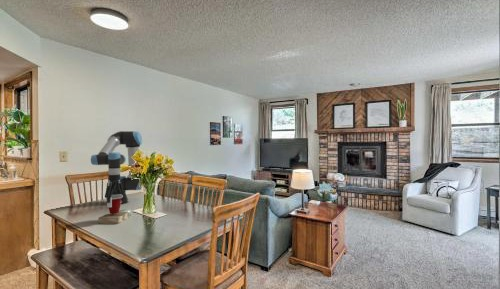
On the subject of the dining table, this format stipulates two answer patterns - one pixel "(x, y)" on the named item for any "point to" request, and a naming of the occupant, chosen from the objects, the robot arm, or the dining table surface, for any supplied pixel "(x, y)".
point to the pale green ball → (126, 211)
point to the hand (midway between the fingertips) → (114, 205)
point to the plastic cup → (115, 204)
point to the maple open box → (113, 218)
